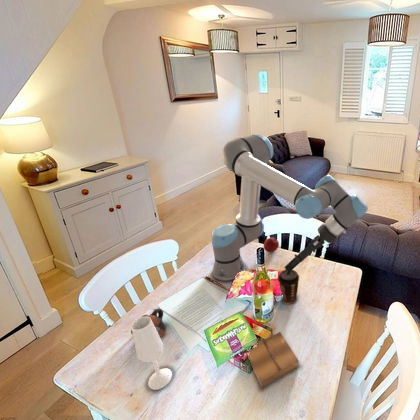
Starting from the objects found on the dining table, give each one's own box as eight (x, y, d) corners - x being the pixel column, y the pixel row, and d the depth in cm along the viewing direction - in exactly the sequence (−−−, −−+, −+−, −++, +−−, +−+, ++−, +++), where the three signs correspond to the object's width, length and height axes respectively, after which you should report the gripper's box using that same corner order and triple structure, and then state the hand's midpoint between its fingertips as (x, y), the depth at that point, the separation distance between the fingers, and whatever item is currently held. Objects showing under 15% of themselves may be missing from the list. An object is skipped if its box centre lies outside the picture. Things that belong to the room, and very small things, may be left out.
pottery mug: (160, 345, 95) (141, 334, 90) (142, 348, 98) (123, 338, 93) (175, 312, 104) (159, 302, 99) (158, 316, 107) (142, 306, 102)
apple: (273, 256, 143) (272, 244, 139) (261, 252, 146) (260, 239, 143) (281, 249, 149) (281, 237, 145) (269, 245, 152) (269, 233, 149)
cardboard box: (246, 354, 92) (245, 348, 90) (280, 337, 98) (279, 331, 97) (261, 388, 82) (261, 381, 80) (298, 366, 88) (298, 360, 87)
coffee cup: (288, 288, 121) (287, 265, 116) (303, 296, 117) (303, 272, 111) (275, 299, 115) (274, 275, 109) (290, 308, 111) (290, 284, 105)
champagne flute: (166, 364, 88) (148, 309, 78) (176, 377, 84) (159, 322, 74) (144, 379, 83) (122, 324, 73) (153, 394, 79) (132, 338, 69)
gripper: (330, 244, 87) (287, 283, 93) (344, 230, 111) (309, 262, 117) (315, 227, 88) (273, 266, 94) (332, 217, 112) (298, 249, 118)
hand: (293, 264), depth 106 cm, fingers open, 13 cm apart
